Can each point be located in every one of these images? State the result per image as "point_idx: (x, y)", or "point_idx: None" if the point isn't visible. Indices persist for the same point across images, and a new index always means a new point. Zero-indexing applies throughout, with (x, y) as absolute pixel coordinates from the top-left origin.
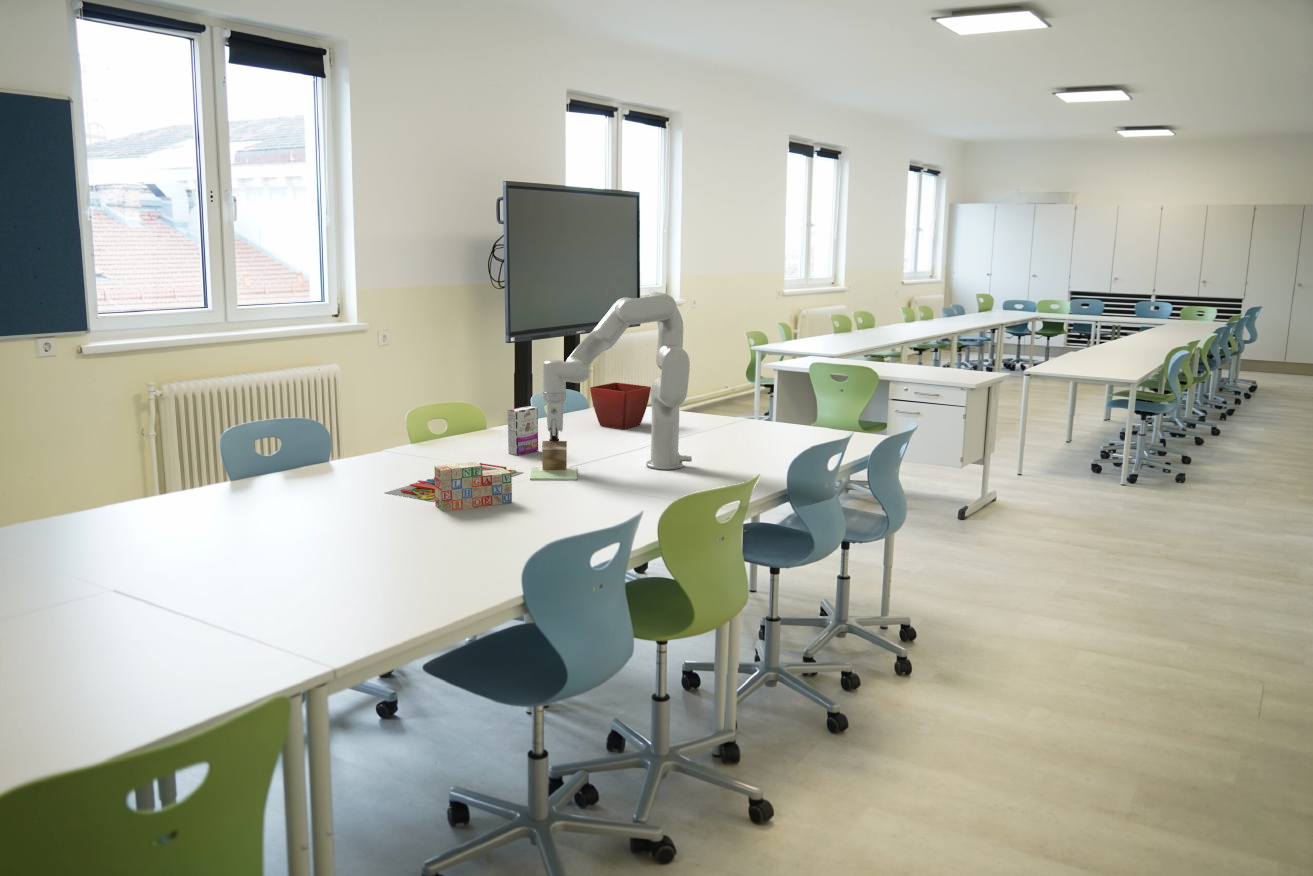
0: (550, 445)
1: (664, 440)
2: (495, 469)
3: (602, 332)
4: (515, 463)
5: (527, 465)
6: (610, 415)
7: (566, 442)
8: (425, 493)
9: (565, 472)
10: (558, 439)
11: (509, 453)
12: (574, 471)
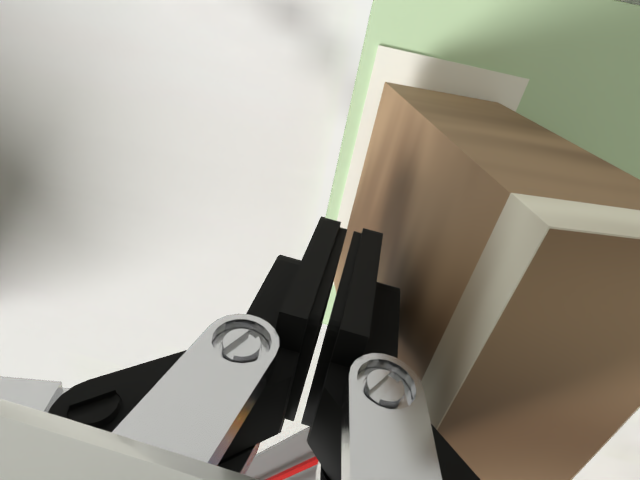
0: (555, 454)
1: None
2: (296, 458)
3: None
4: (149, 347)
5: (200, 307)
6: None
7: (611, 239)
8: None
9: (576, 130)
10: (347, 338)
11: None
12: (576, 21)
